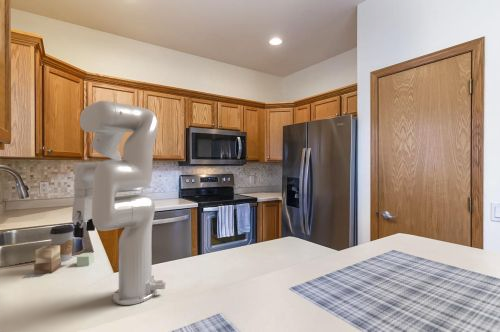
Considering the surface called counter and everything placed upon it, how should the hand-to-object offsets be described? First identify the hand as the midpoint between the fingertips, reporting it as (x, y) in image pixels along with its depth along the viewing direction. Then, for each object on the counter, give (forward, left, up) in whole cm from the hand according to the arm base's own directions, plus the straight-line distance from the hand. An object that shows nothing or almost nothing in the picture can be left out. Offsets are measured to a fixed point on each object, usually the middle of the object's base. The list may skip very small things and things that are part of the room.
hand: (85, 233), depth 106 cm
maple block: (+11, +5, -9) cm, 15 cm away
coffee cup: (+13, -8, -14) cm, 20 cm away
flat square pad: (+11, +5, -14) cm, 18 cm away
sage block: (0, 0, -14) cm, 14 cm away
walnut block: (+11, +5, -13) cm, 18 cm away
